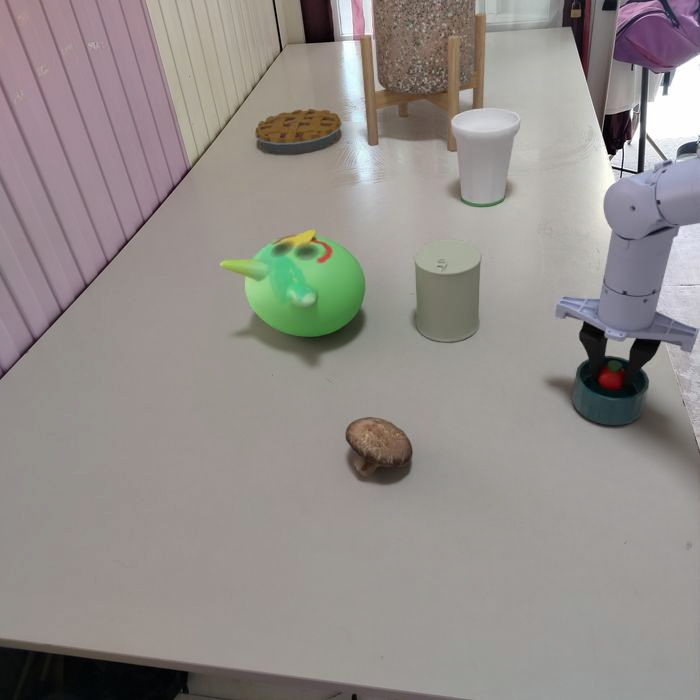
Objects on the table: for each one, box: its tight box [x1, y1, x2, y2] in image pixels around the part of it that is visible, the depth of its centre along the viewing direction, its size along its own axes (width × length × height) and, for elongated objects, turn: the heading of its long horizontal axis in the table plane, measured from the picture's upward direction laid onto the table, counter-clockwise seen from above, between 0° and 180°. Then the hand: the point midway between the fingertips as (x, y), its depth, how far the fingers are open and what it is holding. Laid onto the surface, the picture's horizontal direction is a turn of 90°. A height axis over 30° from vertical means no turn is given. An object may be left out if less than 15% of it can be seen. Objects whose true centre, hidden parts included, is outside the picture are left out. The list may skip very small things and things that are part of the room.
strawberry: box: [598, 360, 626, 391], centre depth 75 cm, size 3×3×4 cm
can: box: [413, 239, 482, 343], centre depth 90 cm, size 9×9×12 cm
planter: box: [359, 0, 487, 152], centre depth 146 cm, size 22×23×32 cm
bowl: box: [571, 355, 650, 426], centre depth 76 cm, size 8×8×4 cm
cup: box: [451, 107, 522, 208], centre depth 120 cm, size 12×12×15 cm
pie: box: [254, 108, 343, 155], centre depth 158 cm, size 22×22×5 cm
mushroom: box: [345, 416, 414, 478], centre depth 73 cm, size 8×8×6 cm
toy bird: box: [219, 228, 366, 338], centre depth 92 cm, size 18×17×15 cm
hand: (611, 378), depth 75 cm, fingers closed on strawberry, 3 cm apart
